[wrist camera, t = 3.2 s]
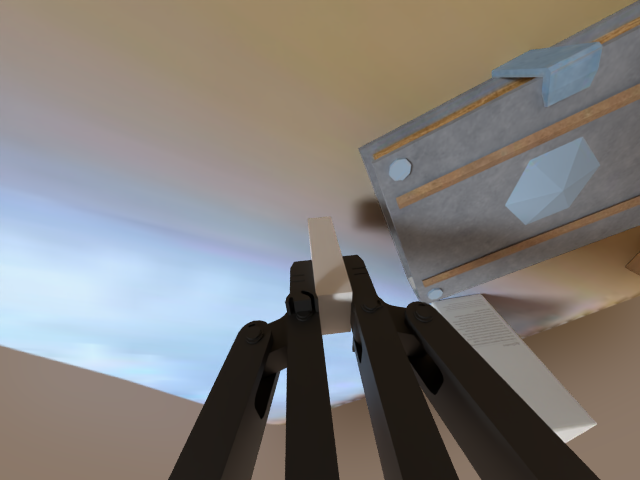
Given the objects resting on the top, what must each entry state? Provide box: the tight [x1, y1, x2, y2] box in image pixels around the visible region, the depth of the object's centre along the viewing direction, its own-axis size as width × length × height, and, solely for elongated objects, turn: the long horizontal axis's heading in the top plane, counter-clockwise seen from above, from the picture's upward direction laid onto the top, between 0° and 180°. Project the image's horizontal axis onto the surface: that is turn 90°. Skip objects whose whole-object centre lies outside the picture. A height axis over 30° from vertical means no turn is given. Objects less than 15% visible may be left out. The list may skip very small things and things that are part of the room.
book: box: [358, 0, 640, 304], centre depth 17 cm, size 21×16×5 cm
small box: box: [431, 294, 597, 443], centre depth 24 cm, size 8×6×13 cm
